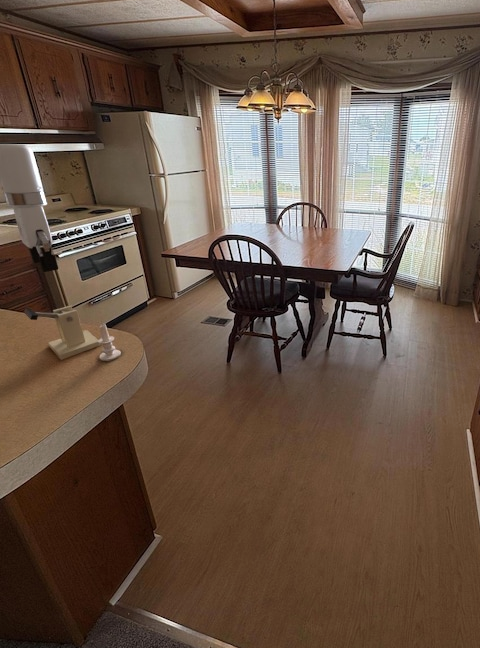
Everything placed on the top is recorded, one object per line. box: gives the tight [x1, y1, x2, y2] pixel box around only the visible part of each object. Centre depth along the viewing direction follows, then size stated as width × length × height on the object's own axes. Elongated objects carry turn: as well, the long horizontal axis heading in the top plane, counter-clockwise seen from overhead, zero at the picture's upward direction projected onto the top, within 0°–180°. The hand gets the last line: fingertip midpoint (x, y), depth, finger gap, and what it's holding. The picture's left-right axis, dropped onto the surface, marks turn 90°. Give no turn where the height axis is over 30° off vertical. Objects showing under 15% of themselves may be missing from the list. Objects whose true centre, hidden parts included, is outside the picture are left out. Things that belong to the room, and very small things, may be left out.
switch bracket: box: [47, 305, 101, 360], centre depth 99 cm, size 10×10×12 cm
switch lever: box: [23, 307, 69, 321], centre depth 94 cm, size 10×6×2 cm, turn 142°
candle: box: [98, 323, 122, 362], centre depth 95 cm, size 5×5×10 cm
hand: (46, 265), depth 89 cm, fingers open, 9 cm apart
